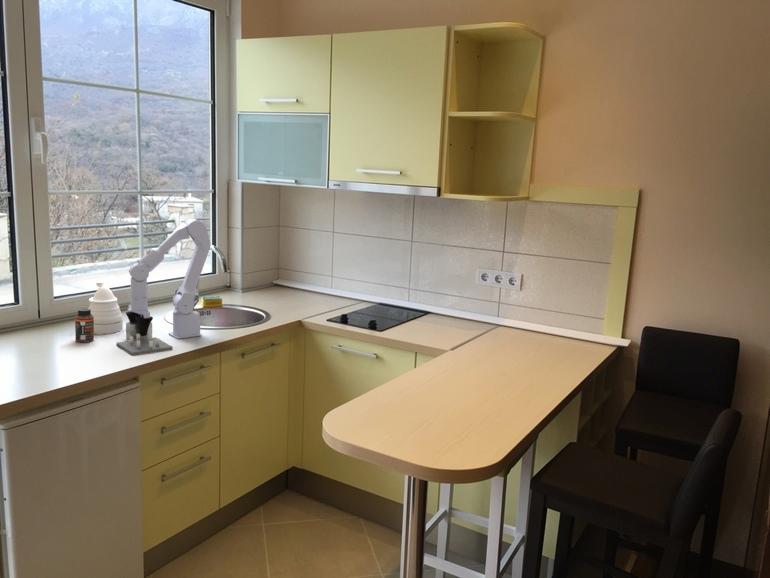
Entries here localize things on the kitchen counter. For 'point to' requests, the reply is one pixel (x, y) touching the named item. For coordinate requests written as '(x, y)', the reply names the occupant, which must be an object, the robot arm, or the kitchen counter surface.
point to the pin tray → (144, 345)
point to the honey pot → (105, 311)
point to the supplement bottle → (84, 326)
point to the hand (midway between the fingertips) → (139, 333)
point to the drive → (136, 330)
